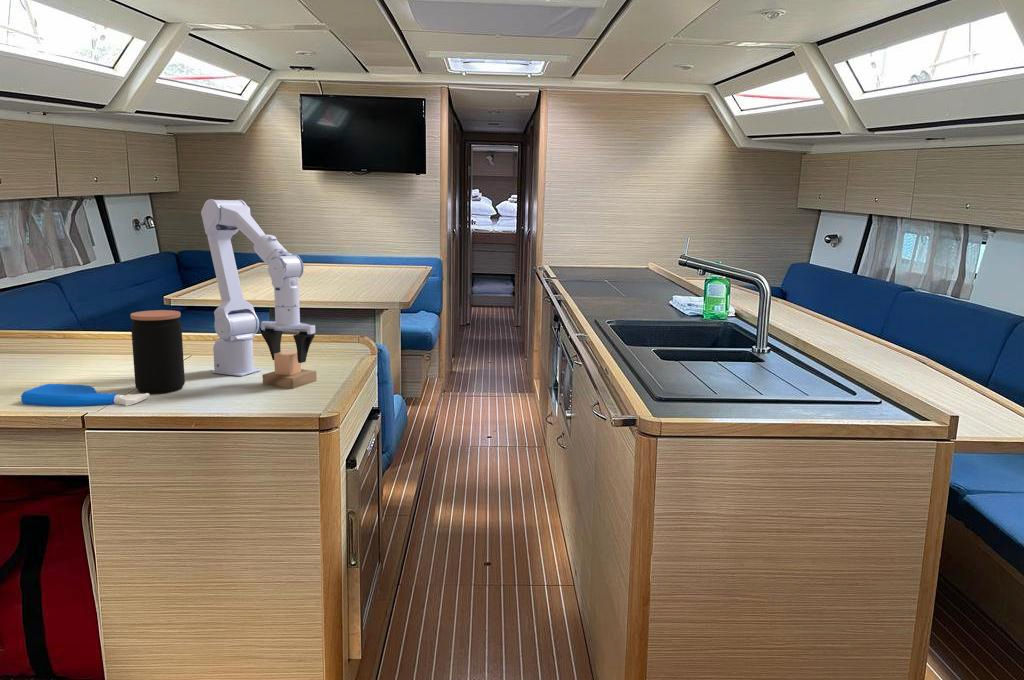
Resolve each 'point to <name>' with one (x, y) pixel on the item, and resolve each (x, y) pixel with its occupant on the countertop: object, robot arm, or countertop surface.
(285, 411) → the countertop surface
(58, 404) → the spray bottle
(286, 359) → the peach block
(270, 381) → the walnut box
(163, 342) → the coffee jar
